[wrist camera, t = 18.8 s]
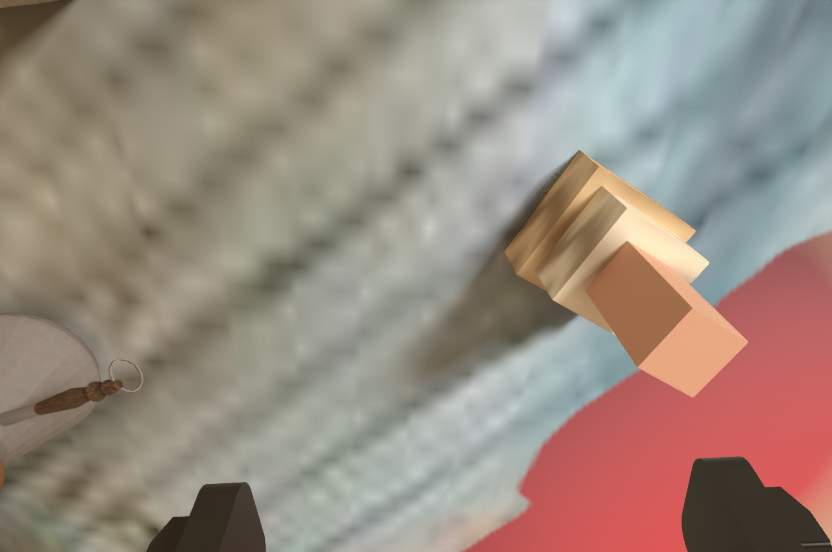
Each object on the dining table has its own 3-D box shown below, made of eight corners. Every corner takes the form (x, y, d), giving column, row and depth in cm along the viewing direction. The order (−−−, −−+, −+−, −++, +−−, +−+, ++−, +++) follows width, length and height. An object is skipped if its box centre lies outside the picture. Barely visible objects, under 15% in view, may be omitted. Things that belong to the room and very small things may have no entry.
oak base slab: (592, 300, 53) (611, 327, 49) (503, 250, 50) (516, 274, 46) (668, 209, 50) (696, 231, 46) (578, 149, 46) (599, 166, 42)
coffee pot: (41, 429, 54) (-62, 583, 40) (-69, 340, 48) (-228, 482, 35) (234, 318, 50) (192, 445, 37) (138, 209, 45) (49, 311, 32)
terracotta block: (632, 318, 43) (692, 397, 35) (585, 291, 42) (637, 367, 34) (674, 270, 42) (748, 342, 34) (627, 240, 40) (692, 308, 32)
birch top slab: (610, 314, 49) (633, 345, 45) (534, 270, 46) (552, 299, 42) (678, 236, 46) (709, 262, 42) (601, 185, 43) (627, 208, 39)
